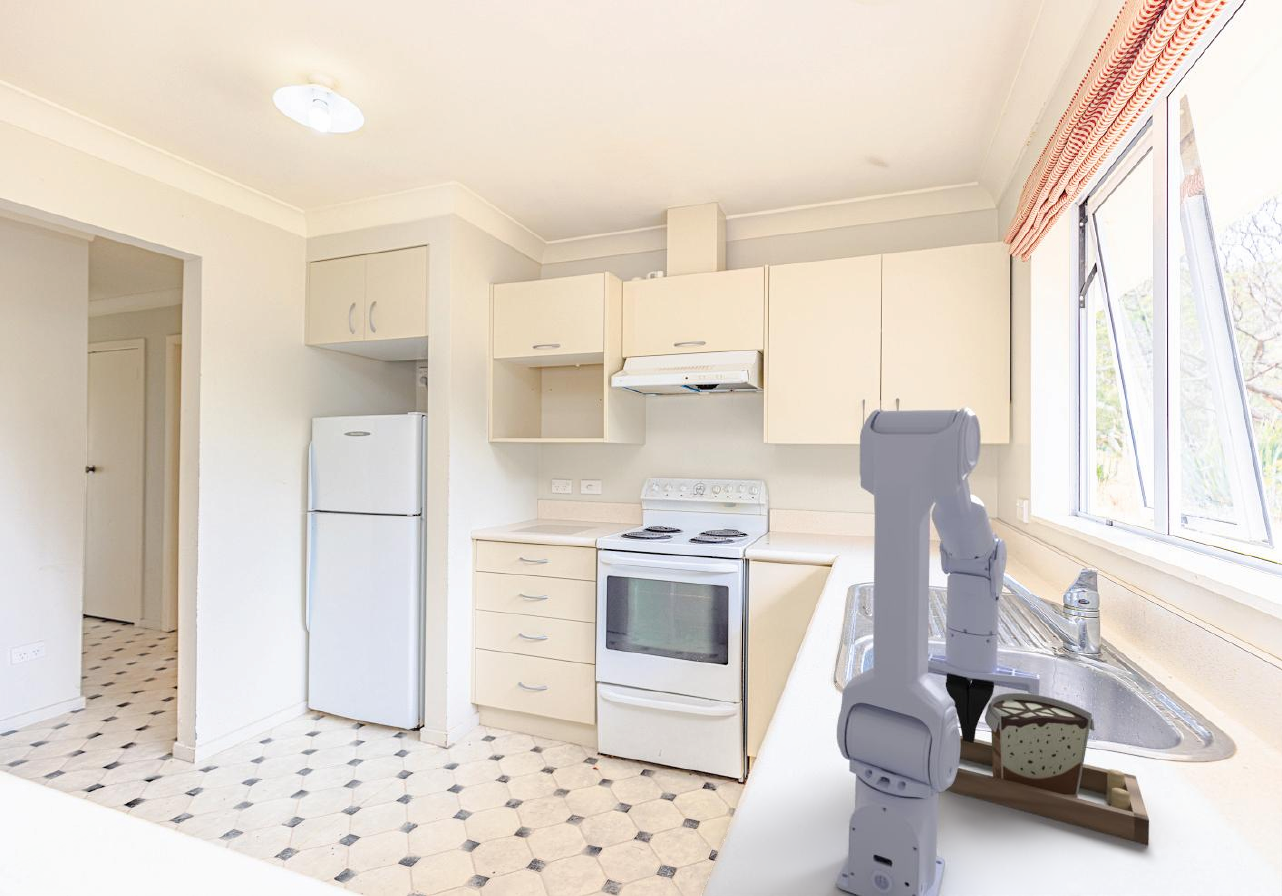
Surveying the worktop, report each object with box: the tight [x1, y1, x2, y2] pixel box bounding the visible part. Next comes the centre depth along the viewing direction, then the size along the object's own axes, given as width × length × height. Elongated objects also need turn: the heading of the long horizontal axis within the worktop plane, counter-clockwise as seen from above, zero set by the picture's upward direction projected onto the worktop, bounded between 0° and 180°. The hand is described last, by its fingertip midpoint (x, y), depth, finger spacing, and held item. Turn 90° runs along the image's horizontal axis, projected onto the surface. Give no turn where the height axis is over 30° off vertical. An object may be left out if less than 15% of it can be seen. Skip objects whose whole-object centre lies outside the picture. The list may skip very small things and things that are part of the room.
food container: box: [984, 692, 1095, 798], centre depth 78 cm, size 12×6×10 cm, turn 96°
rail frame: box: [945, 735, 1150, 846], centre depth 76 cm, size 11×20×4 cm, turn 58°
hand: (968, 739), depth 80 cm, fingers closed
